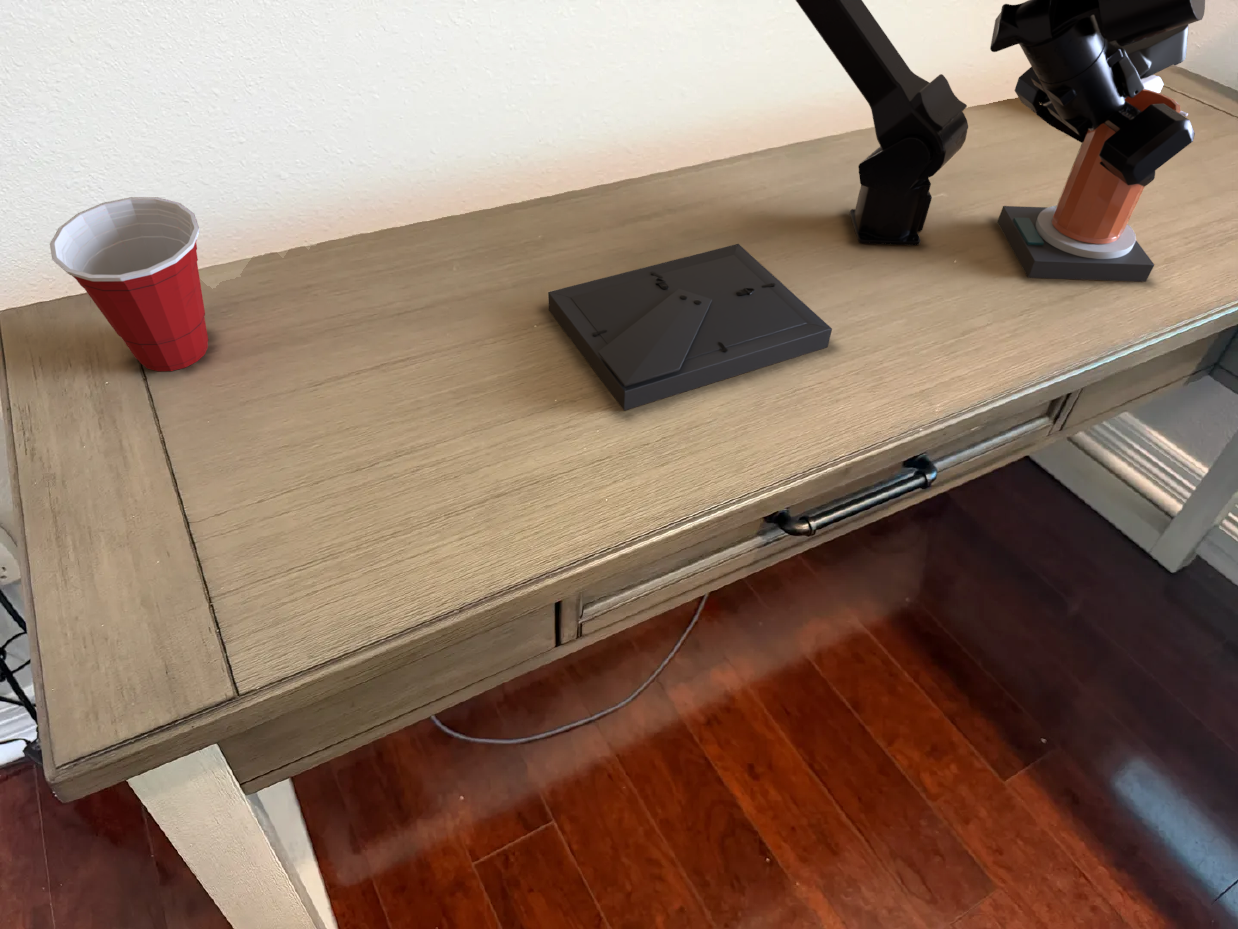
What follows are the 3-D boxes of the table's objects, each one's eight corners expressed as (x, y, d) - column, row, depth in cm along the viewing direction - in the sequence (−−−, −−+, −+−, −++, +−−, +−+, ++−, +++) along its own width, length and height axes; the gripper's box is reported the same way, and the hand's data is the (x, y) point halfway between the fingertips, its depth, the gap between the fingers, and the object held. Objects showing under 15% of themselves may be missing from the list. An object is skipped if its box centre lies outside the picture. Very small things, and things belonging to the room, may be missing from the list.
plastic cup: (98, 402, 73) (34, 277, 65) (114, 325, 80) (58, 204, 72) (237, 382, 75) (193, 258, 67) (240, 309, 83) (201, 189, 74)
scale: (1027, 277, 90) (1037, 253, 88) (996, 222, 98) (1005, 198, 96) (1145, 281, 90) (1158, 257, 88) (1105, 225, 98) (1116, 202, 96)
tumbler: (1063, 242, 90) (1118, 114, 80) (1042, 209, 94) (1091, 85, 85) (1131, 245, 90) (1193, 117, 81) (1106, 212, 94) (1162, 88, 85)
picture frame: (623, 411, 74) (827, 347, 81) (625, 384, 72) (833, 321, 79) (548, 310, 84) (736, 261, 91) (547, 284, 82) (739, 236, 89)
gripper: (1232, 20, 68) (1275, 147, 78) (1090, -52, 81) (1142, 65, 91) (1100, 127, 73) (1156, 235, 82) (985, 43, 85) (1045, 145, 95)
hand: (1125, 164), depth 88 cm, fingers closed on tumbler, 7 cm apart
